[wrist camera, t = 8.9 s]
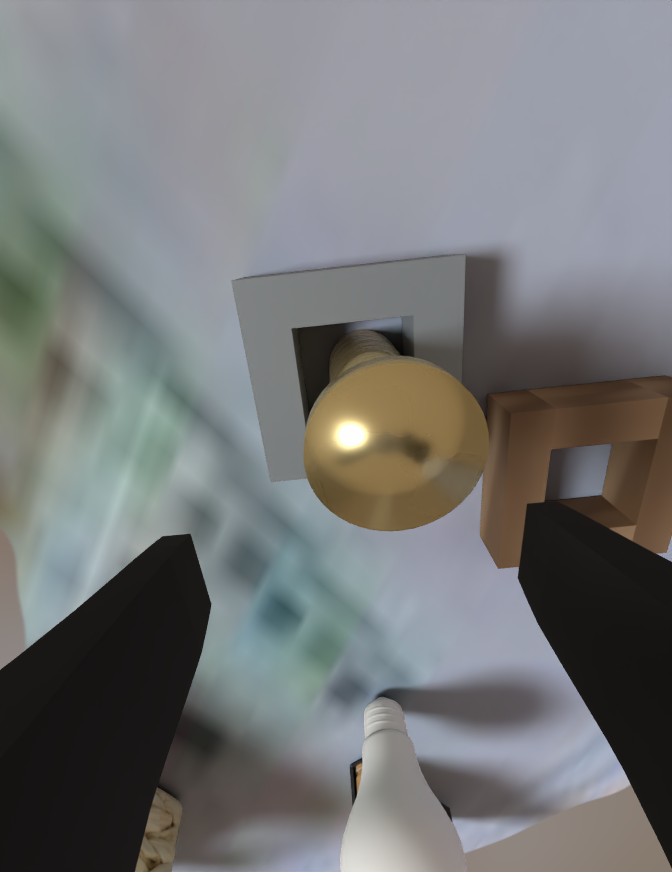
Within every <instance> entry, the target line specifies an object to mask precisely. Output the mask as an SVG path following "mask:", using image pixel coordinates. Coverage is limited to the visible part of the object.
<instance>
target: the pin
mask: <svg viewBox="0 0 672 872" xmlns="http://www.w3.org/2000/svg"><path fill="white" fill-rule="evenodd" d="M329 371H330V383H329V384H328V385H327V386H326V388H325V389H324V390H323V391H322V392H321V394H320V395H319V397H318V398H317V400H316V401H315V403H314V405H313V407H312V409H311V411H310V414H309V417H308V420H307V425H306V430H305V438H304V449H303V459H304V468H305V471H306V475H307V478H308V481H309V483H310V485H311V488H312V489H313V491H314V493H315V494H316V496H317V497H318V498H319V500H320V501H321V502H322V503H323V504H324V505H325V506H326V507H327V508H328V509H329V510H330V511H331V512H333V513H334V514H335V515H337V516H338V517H340V518H342V519H343V520H345V521H347V522H349V523H352V524H354V525H357V526H359V527H363V528H367V529H372V530H378V531H400V530H407V529H413V528H416V527H420V526H423V525H426V524H428V523H431V522H433V521H435V520H437V519H439V518H441V517H443V516H445V515H446V514H447V513H449V512H450V511H452V510H453V509H454V508H456V507H457V506H458V505H459V504H460V503H461V502H462V501H463V500H464V499H465V498H466V497H467V496H468V495H469V494H470V493H471V491H472V490H473V488H474V487H475V486H476V484H477V482H478V480H479V479H480V477H481V475H482V472H483V470H484V467H485V465H486V461H487V457H488V450H489V432H488V427H487V422H486V419H485V416H484V413H483V411H482V409H481V407H480V405H479V404H478V402H477V400H476V399H475V398H474V396H473V395H472V394H471V393H470V392H469V391H468V390H467V389H466V388H465V387H464V386H463V385H462V384H461V383H460V382H459V381H458V380H457V379H456V378H455V377H454V376H452V375H451V374H450V373H449V372H447V371H446V370H444V369H443V368H441V367H439V366H437V365H436V364H434V363H432V362H429V361H426V360H423V359H420V358H414V357H409V356H401V355H400V354H399V352H398V351H397V350H396V348H395V347H394V346H393V345H392V343H391V342H390V341H389V340H388V339H387V338H386V337H385V336H383V335H382V334H380V333H378V332H375V331H372V330H358V331H354V332H351V333H349V334H347V335H345V336H344V337H343V338H341V339H340V340H339V341H338V342H337V344H336V345H335V347H334V348H333V350H332V353H331V356H330V361H329Z"/></svg>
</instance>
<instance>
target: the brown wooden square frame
mask: <svg viewBox="0 0 672 872" xmlns="http://www.w3.org/2000/svg"><path fill="white" fill-rule="evenodd" d="M486 422H487V427H488V432H489V450H488V457H487V461H486V465H485V467H484V470H483V488H482V505H481V523H480V537H481V539H482V540H483V542H484V544H485V546H486V548H487V549H488V551H489V553H490V555H491V557H492V558H493V560H494V562H495V564H496V566H497V567H498V569H500V568H510V567H519V564H520V556H521V548H522V540H523V532H524V524H525V516H526V507H527V504H529V503H540V502H551V501H544V500H545V492H546V485H547V477H548V470H549V462H550V455H551V449H561V448H570V447H580V446H590V445H600V444H610V443H612V447H611V452H610V457H609V462H608V467H607V472H606V477H605V482H604V487H603V492H602V496H594V497H584V498H574V499H564V500H553V501H557V502H559V503H561V504H563V505H566V506H568V507H570V508H572V509H574V510H576V511H578V512H579V513H581V514H583V515H585V516H587V517H589V518H591V519H593V520H594V521H596V522H598V523H600V524H602V525H604V526H606V527H607V528H609V529H611V530H613V531H615V532H617V533H618V534H620V535H622V536H624V537H626V538H628V539H629V540H631V541H633V542H635V543H637V544H639V545H640V546H642V547H644V548H646V549H648V550H650V551H652V552H654V553H655V554H656V553H667V549H668V546H669V543H670V539H671V536H672V378H671V377H668V376H656V377H647V378H637V379H628V380H618V381H608V382H599V383H589V384H580V385H570V386H561V387H551V388H541V389H532V390H522V391H513V392H503V393H493V394H488V400H487V417H486Z"/></svg>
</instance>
